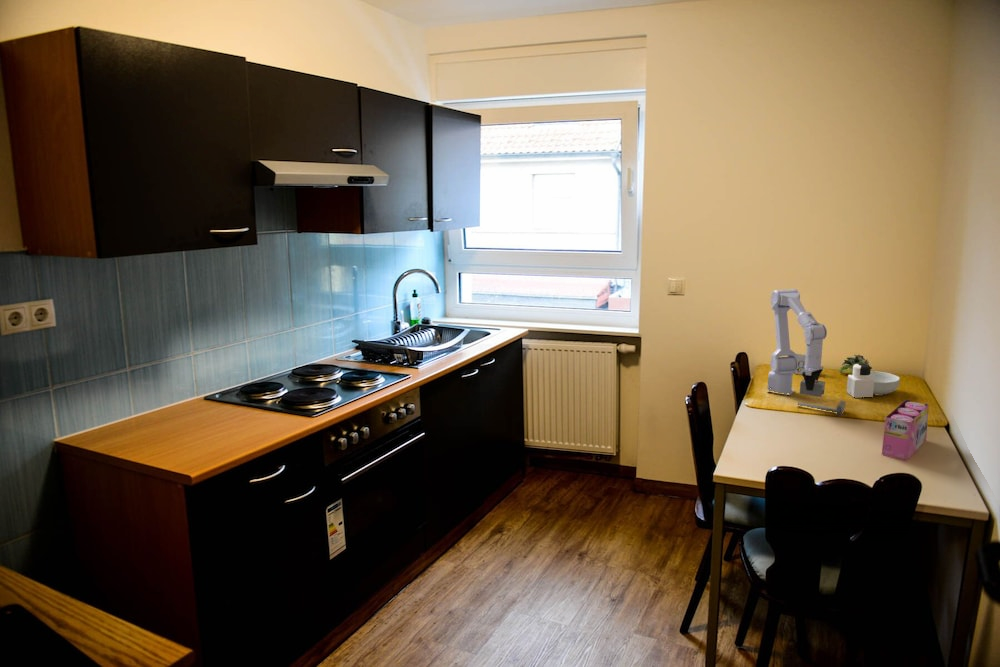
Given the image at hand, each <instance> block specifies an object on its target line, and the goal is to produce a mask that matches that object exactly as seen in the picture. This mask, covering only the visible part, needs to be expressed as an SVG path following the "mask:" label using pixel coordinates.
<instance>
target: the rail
mask: <svg viewBox="0 0 1000 667" xmlns="http://www.w3.org/2000/svg"><path fill="white" fill-rule="evenodd" d="M797 405H800V406H807V407H811V408H817V409H821V410H826V411H832V412H837V414H836V413H835V415H836V416H837V417H841V416H842V415H843V414H842V412H843V411H844V412H845V410H844V409H845V408H846V407H845V406H846V401H844V400H840V402H839V403H838V404H837V405H836V407H831V406H825V405H824V406H823V405H818V404H812V403H805V402H798V403H797ZM844 412H843V413H844ZM841 414H842V415H841Z"/></svg>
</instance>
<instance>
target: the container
mask: <svg viewBox="0 0 1000 667" xmlns="http://www.w3.org/2000/svg"><path fill="white" fill-rule="evenodd" d="M871 367H872V366H870V364H869V365H866V364H855V365H854V366H853V374H848V375H847V382H846V383H847V384H846V393H847V394H849V395H850V396H851V397H853V398H854V397H855V398H854V399H856V398H857V399H859V398H860V399H861V398H862V397H863V399H864V397H872V398H874V395H873V390H874V379H872V378H871V377H870V371H872V369H871Z"/></svg>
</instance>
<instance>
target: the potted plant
mask: <svg viewBox="0 0 1000 667" xmlns="http://www.w3.org/2000/svg"><path fill="white" fill-rule="evenodd" d="M845 358H846V359H844V362H842V363H841V367H840V368H839V369H838V372H839V373H840V374H842V373H843V372H846V371H850V373H851V375H853V366H854V365H855V364H866V365H869V366H870V364H869V361H868V359H866V358H864V355H860V354H854V356H846V357H845ZM870 367H871V370H872V369H873V367H872V366H870Z"/></svg>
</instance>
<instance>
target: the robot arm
mask: <svg viewBox="0 0 1000 667" xmlns="http://www.w3.org/2000/svg"><path fill="white" fill-rule="evenodd" d="M770 307H771V310H772V311H773V319H774V327H775V328H774V329H775V339H776V350H774V352H772V354H771V355H770V362H769V363H770V364H769V365H770V369H771V370H770V371H769V372H768V376H767V389H766V390H769V391H774V392H778V393H784V394H787V393H789V394H791V395H792V394H794V392H795V389H793V376H794V373H795V371H796V370H797V368H798V360H797V358H796V354H797V353H796V352H795V351H793V350H792V349H791V345H790V344H791V343H790V332H789V320H788V312H789V310H790V309H791V310H792V311H793V313H794V314H795V315H796V316H797V319H796V320H797V322H798V324H799V325H800V326H801V328H802V329H803V335H804V339H805V340H804V341H805V344H806V346H805V355H806V358H805V365H804V367H805V370H806V372H803V373H802V375H801V376H802V377H803V379H804V380H805V384H806V389H807V390H810V391H812V390H813V387H814V383H815V380H817V381H819V378H820V375H821V373H822V372H823V370H824V369H825V367H824V366H822V357H823V355H822V354H823V343H824V342H823V340H825V339H826V337H827V334H828V332H827V327H826V326H825V324H823V323H819V321H817V319H816V318H815V317H814V316H813V314H812V312H810V311H807V310H806V308H805V307H804V305H803V304H802V302H801V294H800V292H799V290H798V289H797V288H792V289H775V290H773V291H772V292H771V295H770ZM770 388H771V389H770Z"/></svg>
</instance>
